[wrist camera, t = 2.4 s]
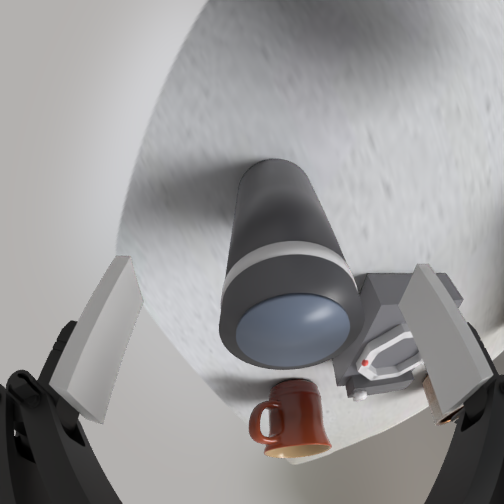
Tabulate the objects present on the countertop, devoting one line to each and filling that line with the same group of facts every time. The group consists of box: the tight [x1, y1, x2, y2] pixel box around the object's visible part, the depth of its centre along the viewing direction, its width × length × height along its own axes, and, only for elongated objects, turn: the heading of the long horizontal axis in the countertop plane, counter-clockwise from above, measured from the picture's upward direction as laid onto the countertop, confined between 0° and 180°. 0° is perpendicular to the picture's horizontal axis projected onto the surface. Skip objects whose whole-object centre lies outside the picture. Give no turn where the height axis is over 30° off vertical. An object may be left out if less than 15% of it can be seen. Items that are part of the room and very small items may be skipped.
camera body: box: [332, 273, 463, 402], centre depth 25 cm, size 14×10×7 cm
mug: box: [249, 379, 332, 458], centre depth 31 cm, size 12×9×10 cm
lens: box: [219, 159, 365, 370], centre depth 14 cm, size 5×5×12 cm
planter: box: [423, 375, 464, 426], centre depth 33 cm, size 11×11×10 cm
